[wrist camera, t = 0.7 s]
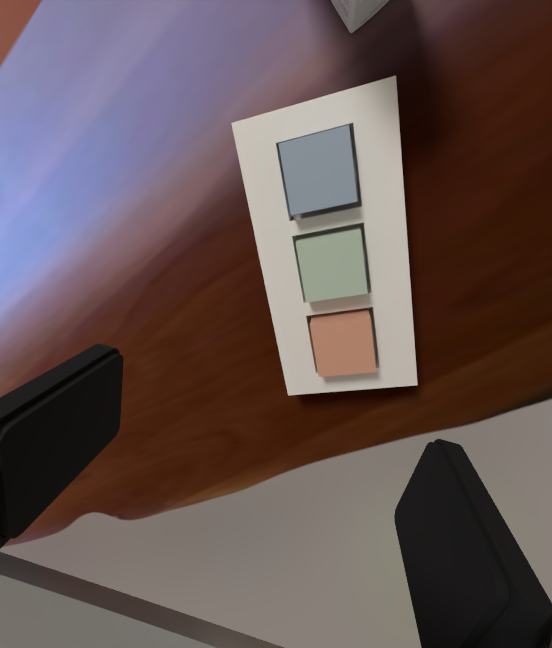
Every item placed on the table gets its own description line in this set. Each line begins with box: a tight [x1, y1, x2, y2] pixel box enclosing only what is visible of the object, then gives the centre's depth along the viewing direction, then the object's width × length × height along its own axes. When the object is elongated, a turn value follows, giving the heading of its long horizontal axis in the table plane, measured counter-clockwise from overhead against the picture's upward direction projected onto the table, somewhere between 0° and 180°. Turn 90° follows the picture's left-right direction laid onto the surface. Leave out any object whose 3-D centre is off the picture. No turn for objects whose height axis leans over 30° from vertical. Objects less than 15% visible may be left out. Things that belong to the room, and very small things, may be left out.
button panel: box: [231, 76, 417, 395], centre depth 28 cm, size 12×24×3 cm, turn 11°
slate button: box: [279, 125, 358, 215], centre depth 24 cm, size 5×5×3 cm
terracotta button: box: [310, 308, 377, 377], centre depth 28 cm, size 5×5×3 cm
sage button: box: [296, 228, 368, 303], centre depth 26 cm, size 5×5×3 cm
